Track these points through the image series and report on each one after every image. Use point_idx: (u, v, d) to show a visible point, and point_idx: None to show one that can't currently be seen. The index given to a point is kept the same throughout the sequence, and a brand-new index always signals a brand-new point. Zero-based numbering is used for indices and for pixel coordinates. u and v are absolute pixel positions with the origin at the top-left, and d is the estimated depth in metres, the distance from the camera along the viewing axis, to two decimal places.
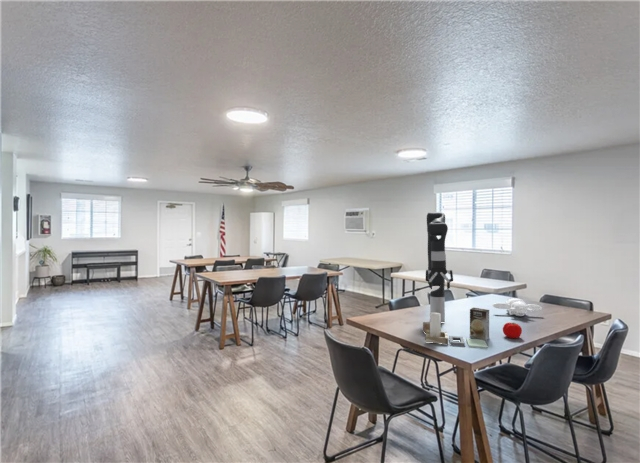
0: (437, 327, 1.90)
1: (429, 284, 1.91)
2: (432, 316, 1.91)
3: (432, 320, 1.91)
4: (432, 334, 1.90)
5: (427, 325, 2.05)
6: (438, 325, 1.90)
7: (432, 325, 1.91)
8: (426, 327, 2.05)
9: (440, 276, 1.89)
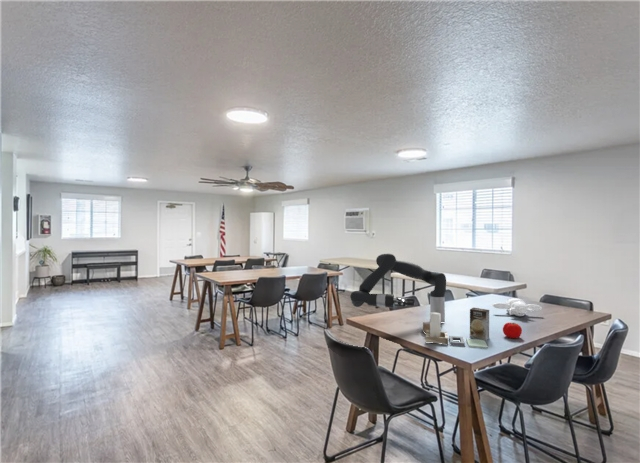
0: (437, 327, 1.90)
1: None
2: (432, 316, 1.91)
3: (432, 320, 1.91)
4: (432, 334, 1.90)
5: (427, 325, 2.05)
6: (438, 325, 1.90)
7: (432, 325, 1.91)
8: (426, 327, 2.05)
9: None
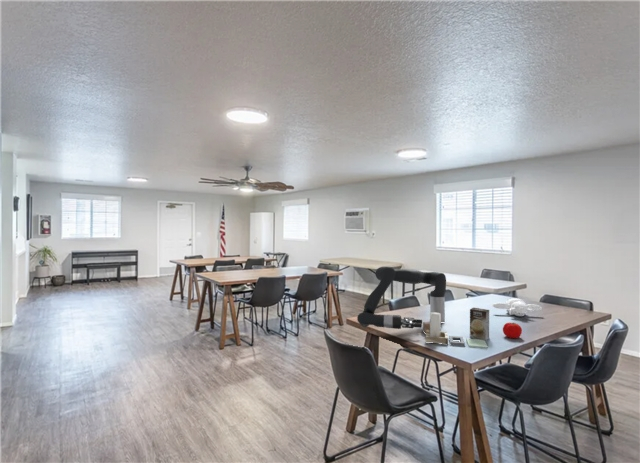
0: (437, 327, 1.90)
1: None
2: (432, 316, 1.91)
3: (432, 320, 1.91)
4: (432, 334, 1.90)
5: (427, 325, 2.05)
6: (438, 325, 1.90)
7: (432, 325, 1.91)
8: (426, 327, 2.05)
9: None
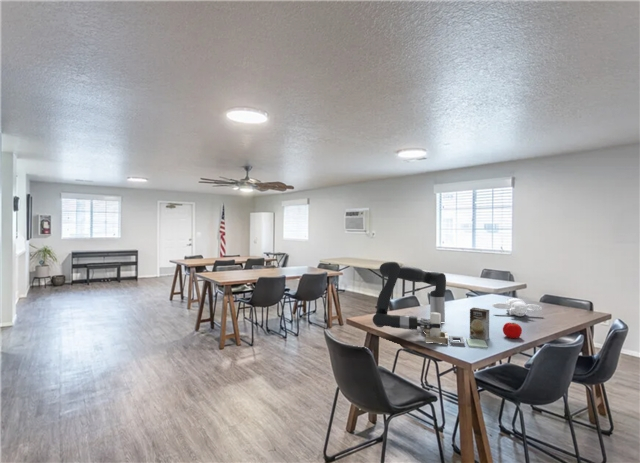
0: None
1: None
2: (432, 316, 1.91)
3: (432, 320, 1.91)
4: (432, 334, 1.90)
5: None
6: None
7: None
8: None
9: None
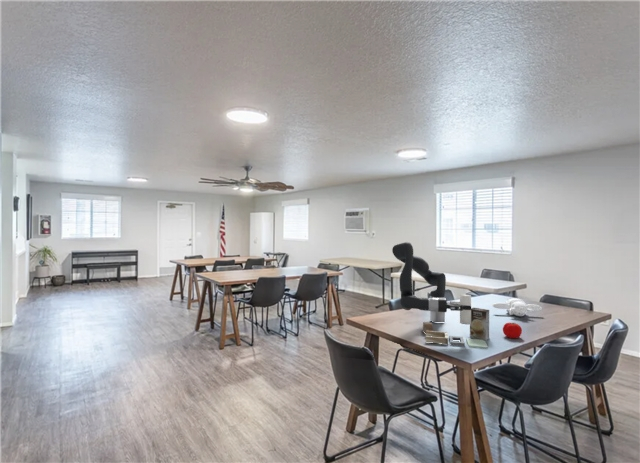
0: None
1: None
2: (462, 298, 1.86)
3: (462, 302, 1.86)
4: (462, 316, 1.86)
5: (427, 325, 2.05)
6: None
7: None
8: (426, 327, 2.05)
9: None
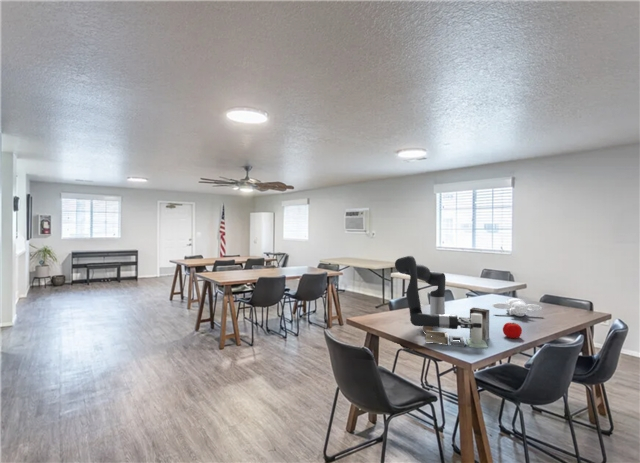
0: (479, 328, 1.83)
1: None
2: (474, 317, 1.84)
3: (474, 321, 1.84)
4: (474, 336, 1.84)
5: None
6: None
7: None
8: (426, 327, 2.05)
9: None
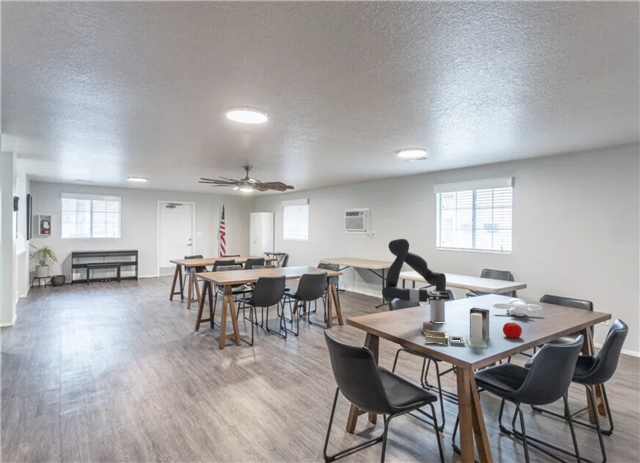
0: (479, 328, 1.83)
1: (443, 295, 1.96)
2: (473, 317, 1.84)
3: (473, 321, 1.84)
4: (473, 336, 1.84)
5: (427, 325, 2.05)
6: (480, 326, 1.83)
7: (473, 326, 1.84)
8: (426, 327, 2.05)
9: None
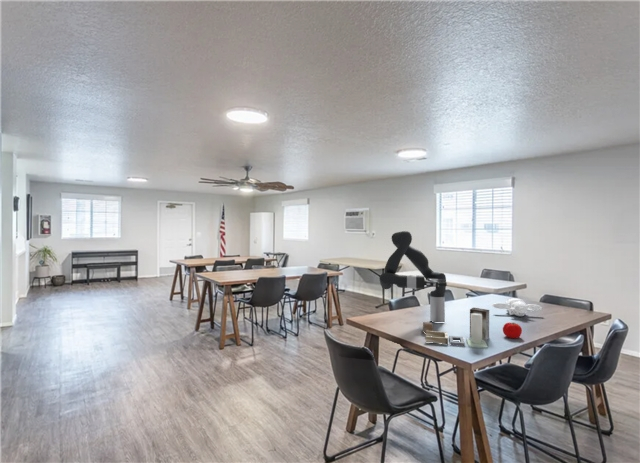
0: (479, 328, 1.83)
1: None
2: (473, 317, 1.84)
3: (473, 321, 1.84)
4: (473, 336, 1.84)
5: (427, 325, 2.05)
6: (480, 326, 1.83)
7: (473, 326, 1.84)
8: (426, 327, 2.05)
9: None
